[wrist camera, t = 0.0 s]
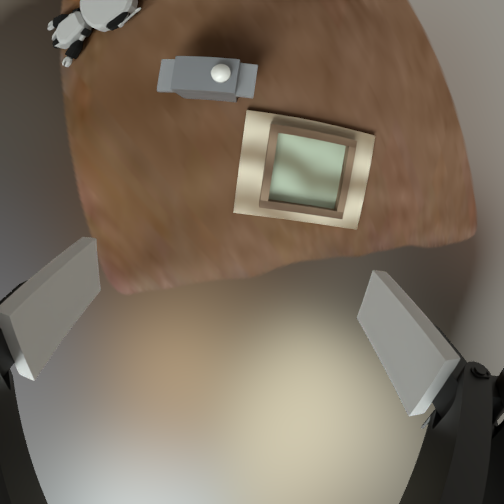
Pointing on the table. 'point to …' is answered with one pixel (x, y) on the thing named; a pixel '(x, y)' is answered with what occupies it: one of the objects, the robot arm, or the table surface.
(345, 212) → the pocket board
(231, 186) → the table surface
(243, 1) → the table surface
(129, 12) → the robot toy
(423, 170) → the table surface
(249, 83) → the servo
